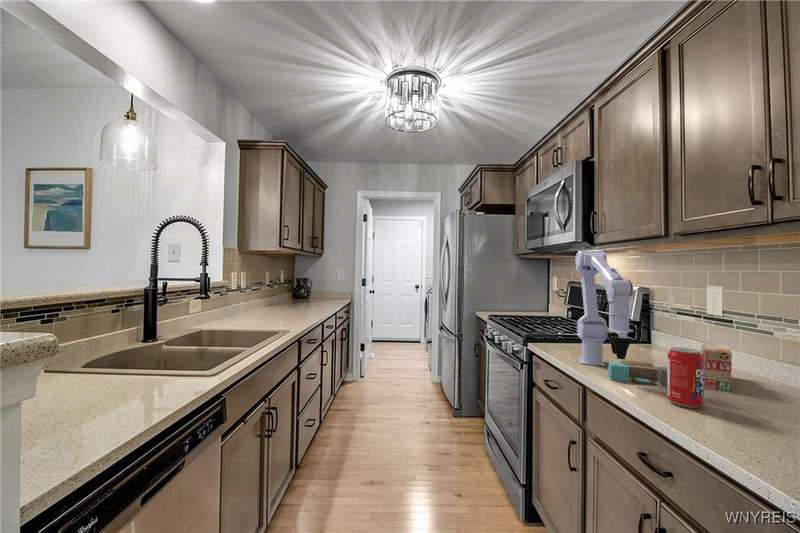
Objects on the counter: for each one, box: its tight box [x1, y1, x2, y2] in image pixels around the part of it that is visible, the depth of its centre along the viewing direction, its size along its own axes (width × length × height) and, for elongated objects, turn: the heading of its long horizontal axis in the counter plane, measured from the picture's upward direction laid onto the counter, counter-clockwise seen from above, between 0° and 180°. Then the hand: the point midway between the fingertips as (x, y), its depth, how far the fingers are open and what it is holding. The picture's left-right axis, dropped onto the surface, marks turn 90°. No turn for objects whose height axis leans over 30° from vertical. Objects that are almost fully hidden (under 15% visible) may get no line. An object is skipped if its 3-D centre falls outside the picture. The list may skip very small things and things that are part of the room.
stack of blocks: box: [700, 342, 733, 393], centre depth 120 cm, size 21×6×12 cm, turn 143°
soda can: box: [666, 346, 705, 409], centre depth 99 cm, size 8×8×15 cm
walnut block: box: [620, 359, 657, 382], centre depth 126 cm, size 9×9×4 cm
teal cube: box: [608, 361, 630, 383], centre depth 121 cm, size 5×5×5 cm
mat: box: [629, 377, 658, 387], centre depth 118 cm, size 6×6×1 cm
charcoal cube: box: [656, 366, 667, 387], centre depth 116 cm, size 5×5×5 cm
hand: (618, 356), depth 121 cm, fingers open, 7 cm apart
